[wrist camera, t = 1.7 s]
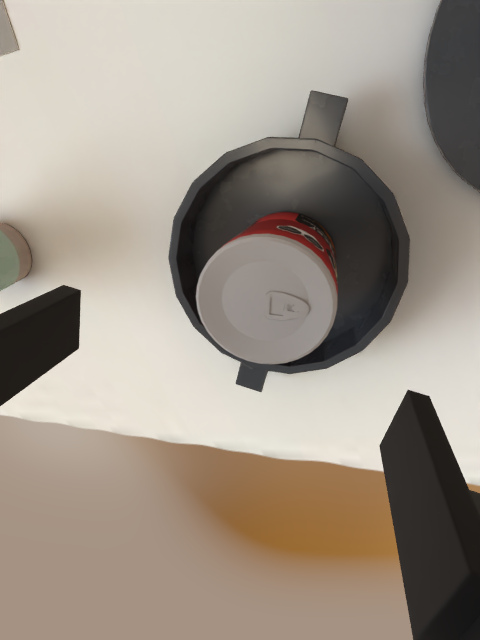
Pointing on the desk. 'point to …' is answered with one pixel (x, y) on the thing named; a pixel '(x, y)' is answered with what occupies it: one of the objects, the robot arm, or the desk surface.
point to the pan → (309, 200)
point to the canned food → (271, 290)
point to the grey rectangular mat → (6, 33)
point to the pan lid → (455, 86)
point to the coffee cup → (13, 256)
